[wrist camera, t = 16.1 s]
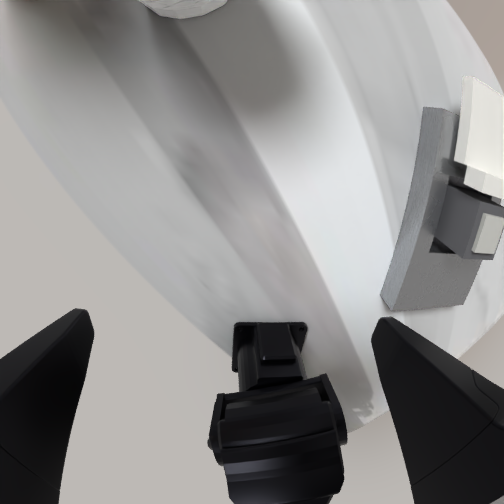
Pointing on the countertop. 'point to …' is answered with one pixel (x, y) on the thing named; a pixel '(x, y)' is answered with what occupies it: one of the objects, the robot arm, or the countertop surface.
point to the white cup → (183, 7)
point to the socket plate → (430, 225)
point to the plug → (470, 224)
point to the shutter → (481, 137)
